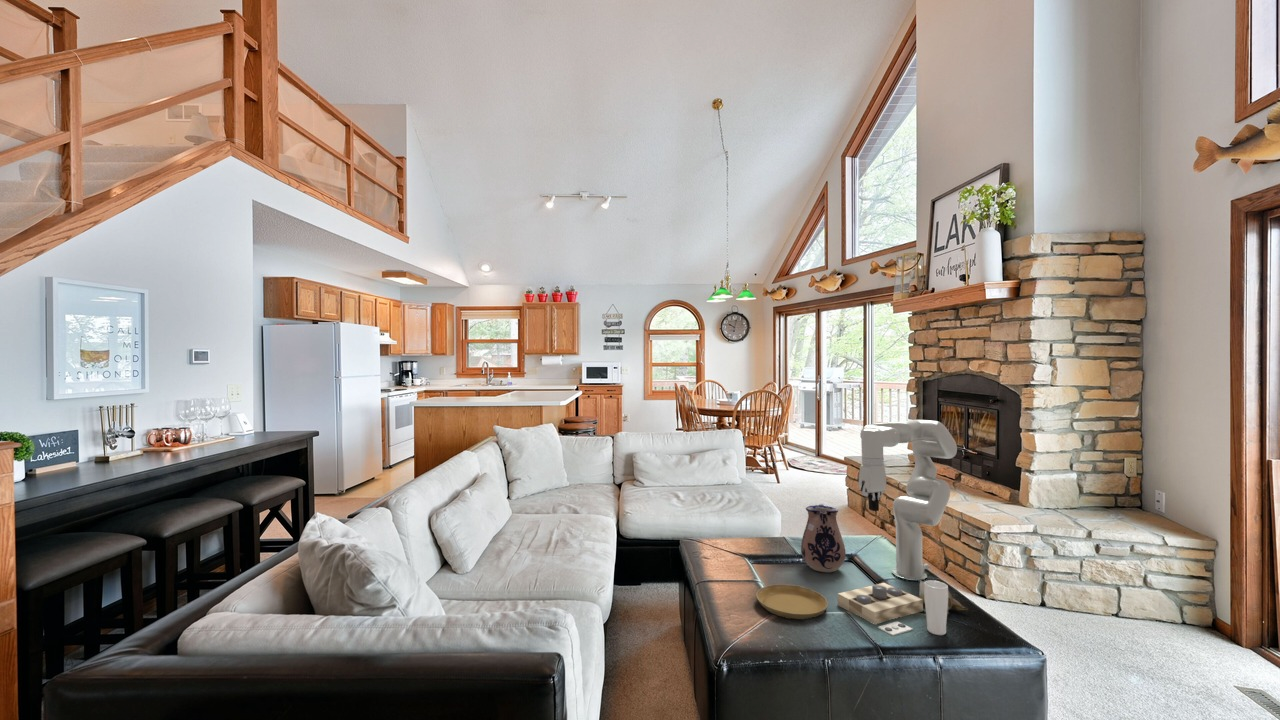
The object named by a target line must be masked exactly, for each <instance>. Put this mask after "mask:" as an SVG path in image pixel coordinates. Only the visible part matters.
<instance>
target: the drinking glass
mask: <svg viewBox="0 0 1280 720" xmlns="http://www.w3.org/2000/svg"><path fill="white" fill-rule="evenodd" d="M923 582H924V599H925V603H924V607H925V619H926V630H927V631H928V632H929V633H930V634H933V635H936V636H944V635H946V633H947V623H948V615H947V610H948V591H949V586H948V584H946V583H945V582H942V581H939V580H934V579H933V580H931V579H930V580H924V581H923ZM948 611H949V610H948Z"/></svg>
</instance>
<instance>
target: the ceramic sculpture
mask: <svg viewBox="0 0 1280 720" xmlns="http://www.w3.org/2000/svg"><path fill="white" fill-rule="evenodd" d="M924 582H925V581H919V593H918V595H919V596H918V598H921V599H923V604H925V599H924ZM951 609H953V610H956V611H968V610H969V608H968V607H965V606H964V605H963V604H961V603H960V601H958V600H956V598H953V596H952V594H951V592H950V591H949V590H948V610H947V616H949V615H950V612H949V610H951Z"/></svg>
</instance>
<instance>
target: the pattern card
mask: <svg viewBox="0 0 1280 720" xmlns="http://www.w3.org/2000/svg"><path fill="white" fill-rule="evenodd" d="M877 629H879V630H881V631H883V632H884V633H887V634H888V635H890V636H894V637H895V636H897V635H900V634H904V633H907V632H912V631H913V630H914V629H913V628H912V627H911V626H908V625H906V624H904V623H902V622H900V621H898V620H897V621H892V622H890V623H887V624H883V625H879V626H877Z"/></svg>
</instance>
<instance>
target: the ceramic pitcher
mask: <svg viewBox="0 0 1280 720" xmlns="http://www.w3.org/2000/svg"><path fill="white" fill-rule="evenodd" d="M805 510H806V512H807V514H808V517H807V521H806V525H805V529H804V531H803V534H802V539H801V546H800V547H801V548H800V552H801V553H800V554H801V556H802V558H803V560H804V562H805V564H806V565H807V566H809V568H811V569H812V570H813V571H817V572H821V573H833V572H835V571H837V570H839V569H840V568H841V567H842V565H843V564H844V562H845V559H846V554H847V553H846V547H845V546H846V545H845V543H844V540H843V537H842V533H841V531H840V530H841V529H840V528H839V525H838V524H839V523H838V522H837V521H838V520H837V514H838V512H839V509H837V508H836V507H834V506H833V507H832V506H828V505H824V504H823V503H821V504H818V505H817V504H815V505H809V506H807V507H805Z"/></svg>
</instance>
